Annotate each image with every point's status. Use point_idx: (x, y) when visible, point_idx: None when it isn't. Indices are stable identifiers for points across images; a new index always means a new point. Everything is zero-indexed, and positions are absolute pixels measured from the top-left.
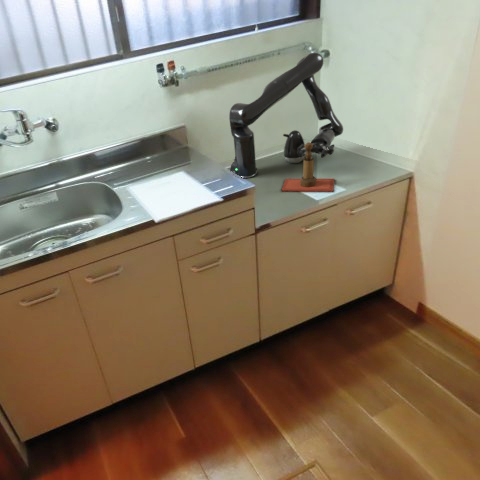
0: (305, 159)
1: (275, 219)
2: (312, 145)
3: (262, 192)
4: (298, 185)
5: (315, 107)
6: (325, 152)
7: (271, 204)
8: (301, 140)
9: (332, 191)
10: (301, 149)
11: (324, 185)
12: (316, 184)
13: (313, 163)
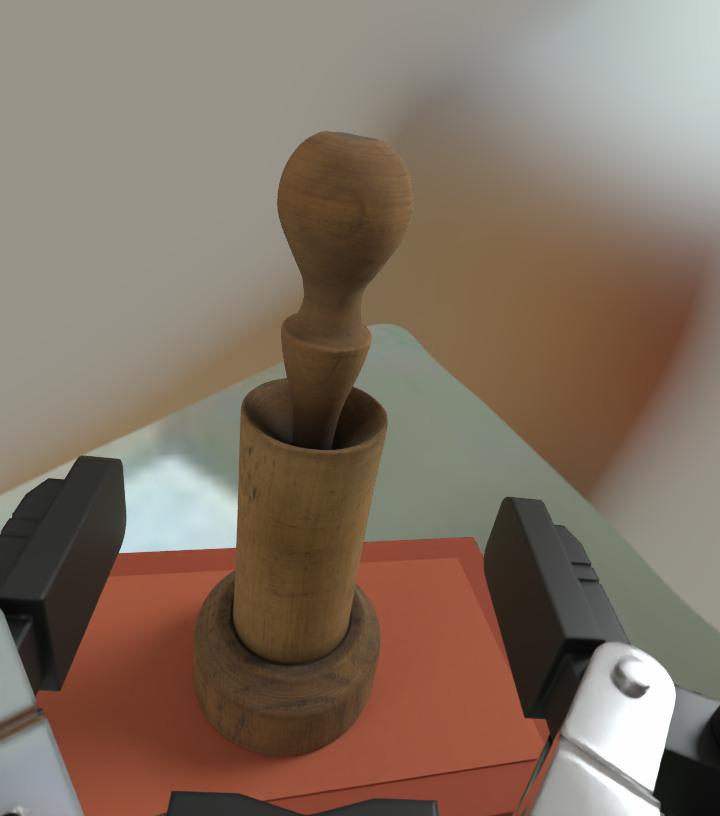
0: (364, 437)
1: None
2: (279, 184)
3: (595, 527)
4: None
5: None
6: (8, 537)
7: (434, 414)
8: None
9: None
10: (646, 667)
11: (98, 649)
12: (190, 662)
13: (239, 457)
